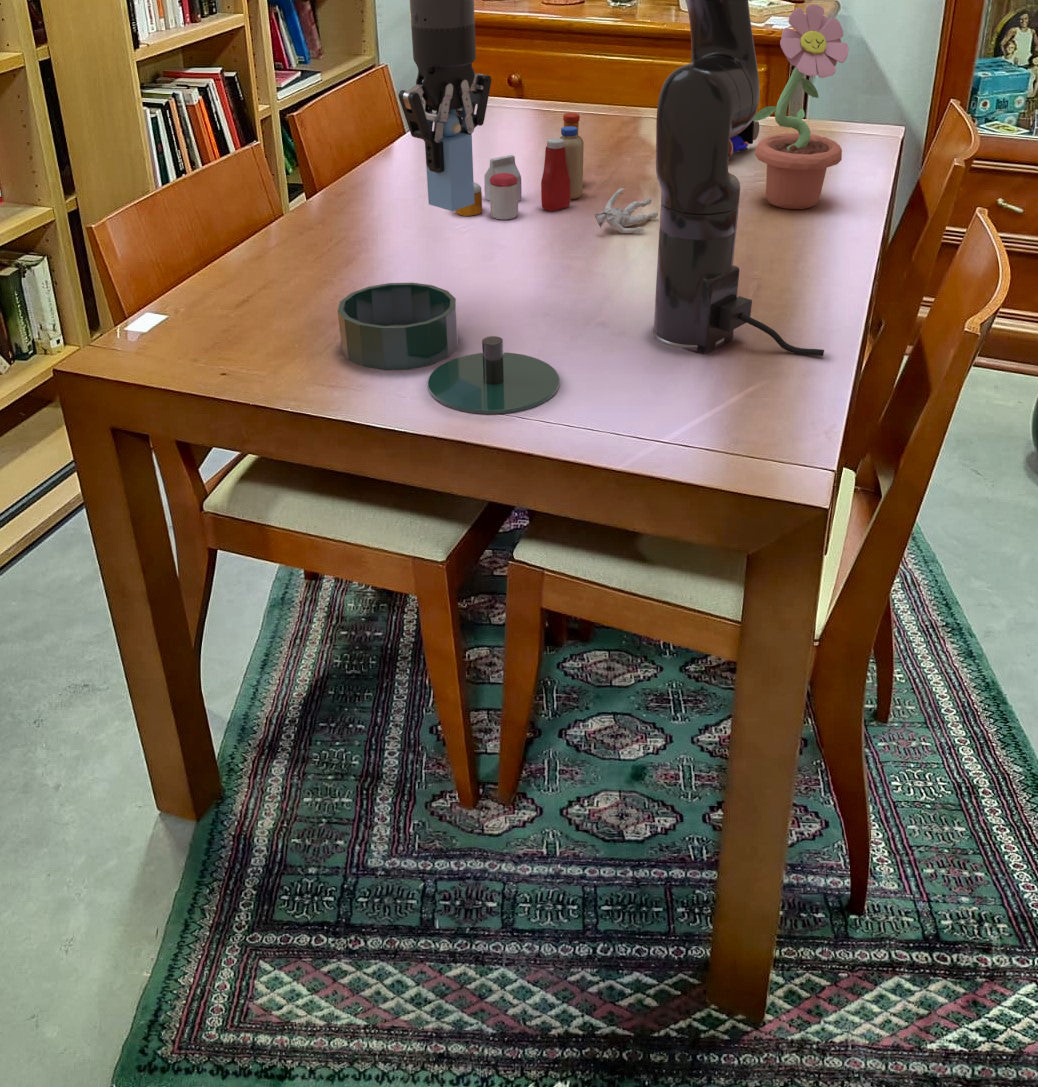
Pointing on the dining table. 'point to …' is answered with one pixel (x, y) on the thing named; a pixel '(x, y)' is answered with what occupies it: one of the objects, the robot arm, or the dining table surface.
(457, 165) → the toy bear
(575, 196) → the toy food
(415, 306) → the pot
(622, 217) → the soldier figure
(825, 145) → the decorative flower
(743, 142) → the figurine character
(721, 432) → the dining table surface
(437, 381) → the lid
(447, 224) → the dining table surface
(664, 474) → the dining table surface
